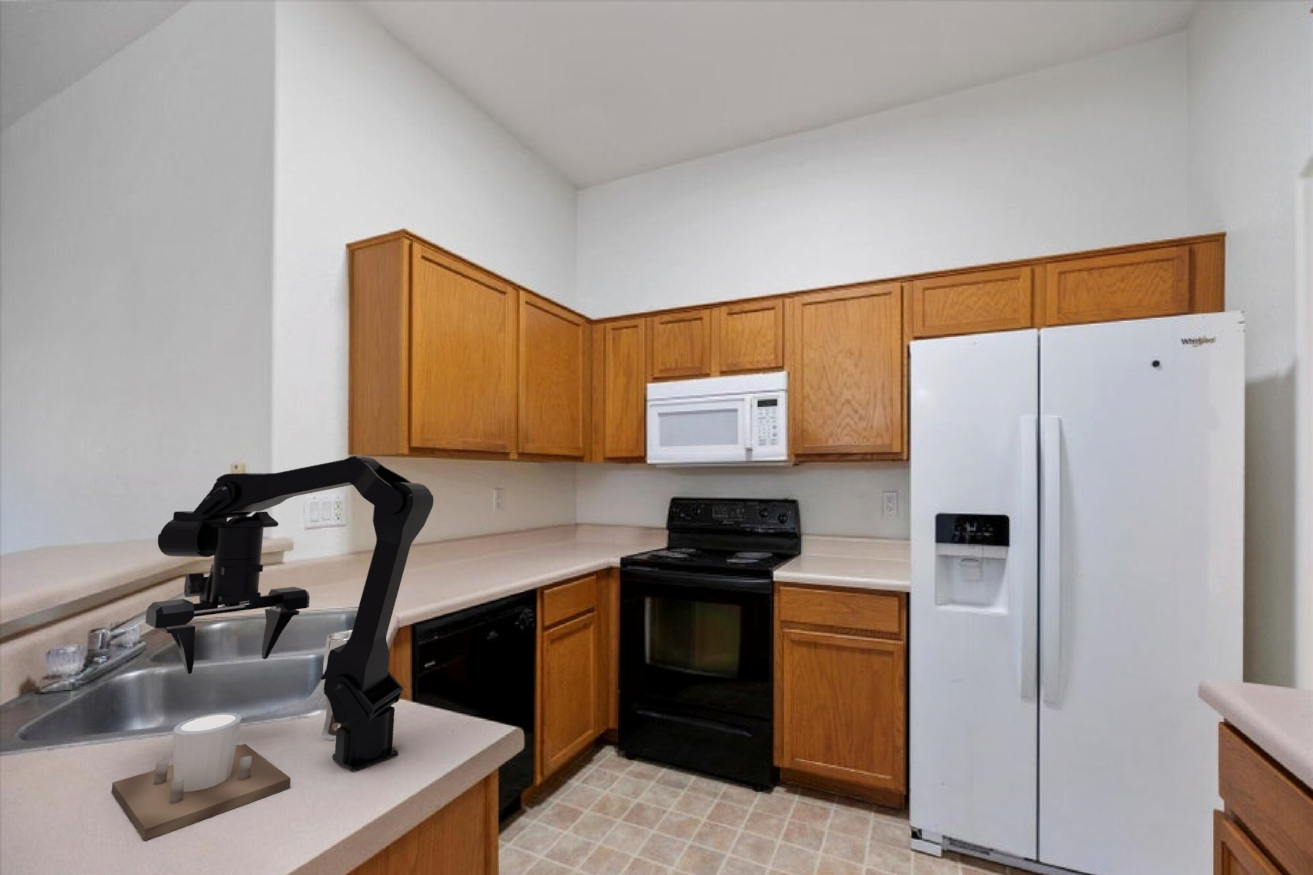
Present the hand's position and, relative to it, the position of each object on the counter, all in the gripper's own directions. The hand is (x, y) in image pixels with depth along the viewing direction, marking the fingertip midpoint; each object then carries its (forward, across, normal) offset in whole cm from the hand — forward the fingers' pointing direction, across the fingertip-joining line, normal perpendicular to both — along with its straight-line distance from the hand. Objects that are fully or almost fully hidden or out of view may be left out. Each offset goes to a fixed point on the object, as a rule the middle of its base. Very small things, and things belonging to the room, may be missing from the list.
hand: (228, 665), depth 82 cm
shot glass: (+11, +5, +11) cm, 16 cm away
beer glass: (+12, -14, +7) cm, 20 cm away
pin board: (+12, +5, +11) cm, 17 cm away
